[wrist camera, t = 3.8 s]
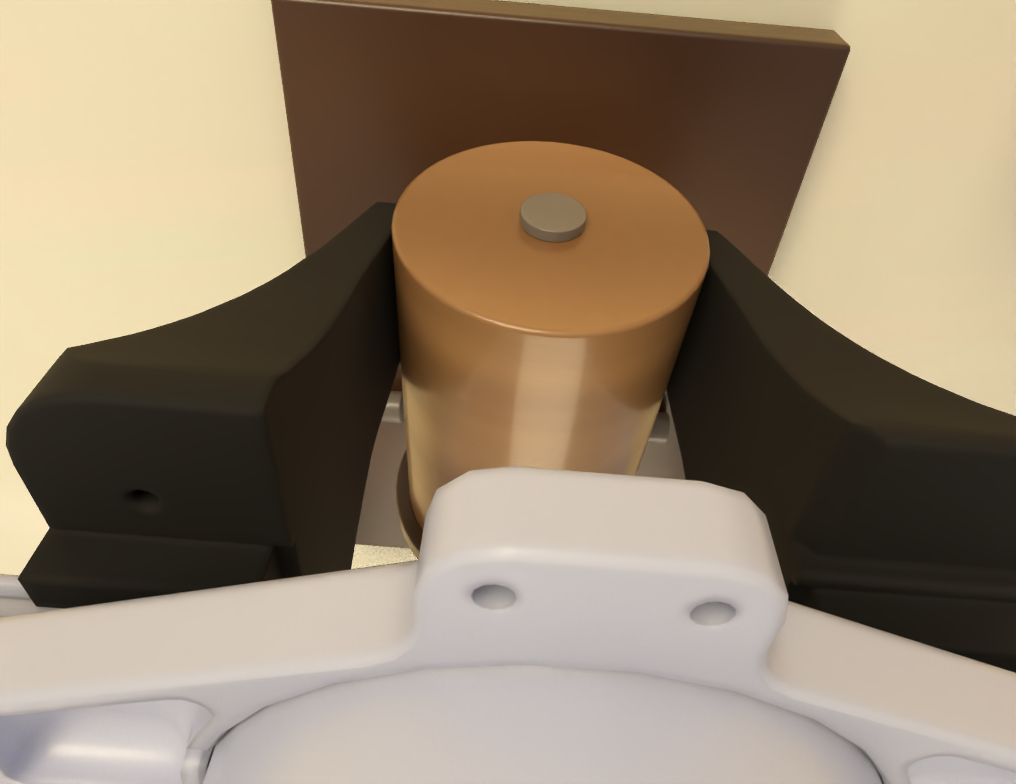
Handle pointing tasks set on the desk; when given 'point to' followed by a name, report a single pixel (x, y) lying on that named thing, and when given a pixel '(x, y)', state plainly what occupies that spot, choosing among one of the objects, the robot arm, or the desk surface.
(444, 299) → the battery
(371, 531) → the base board
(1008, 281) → the desk surface
